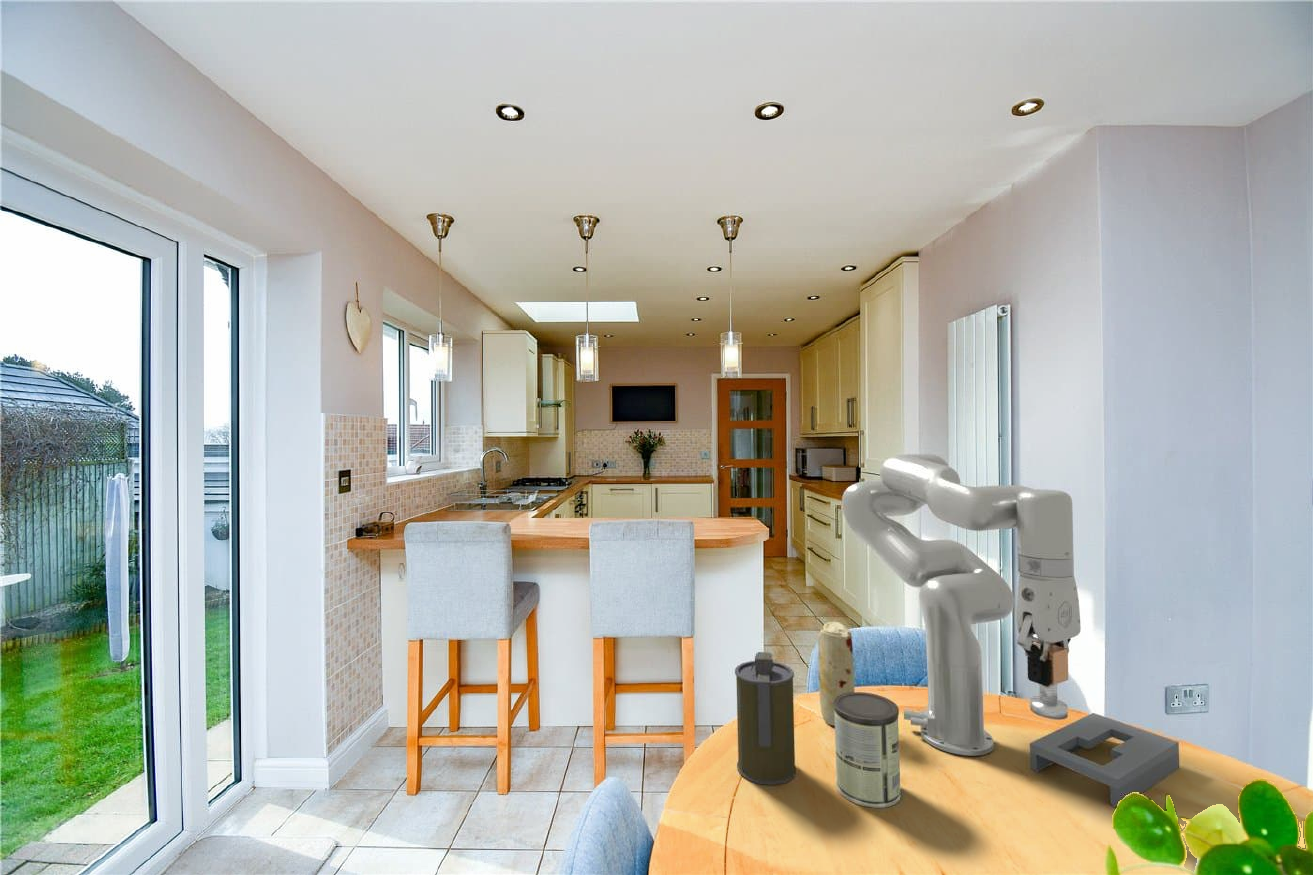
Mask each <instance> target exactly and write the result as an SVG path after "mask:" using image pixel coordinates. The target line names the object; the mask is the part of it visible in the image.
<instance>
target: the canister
mask: <svg viewBox="0 0 1313 875" xmlns="http://www.w3.org/2000/svg"><path fill="white" fill-rule="evenodd" d="M734 674H735V676H736V677H735V678H736V708H737V709H736V715H737V716H736V718H737V752H738V753H737V755H738V756H737V757H738V761H737V762H736V768H737V771H738V773H739V774H740V775H741V776H742V777H743V778H745V779H746V780H748V781H750V782H753V783H756V784H759V785H766V786H781V785H782V784H786V783H789V782H790V781H791V780H793V779H794V778H795V776H796V774H797V766H796V758H795V757H796V754H795V752H796V749H795V748H796V747H795V716H794V714H795V712H794V711H795V710H794V708H795V707H794V677H795V672H794V670H793V669H792V668H791V667H790V666H788V665H786V664H784V663H780V662H777V661H774V659H773V654H771V652H766V651H765V652H764V651H762V652H761V651H758V652H756V653H755V655H754V660H749V661H746V662H742V663H740V664H739V665H737V666H736V668H734Z"/></svg>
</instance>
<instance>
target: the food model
mask: <svg viewBox="0 0 1313 875" xmlns="http://www.w3.org/2000/svg"><path fill="white" fill-rule="evenodd" d="M817 637H818V638H817V646H818V650H817V653H818V658H817V659H818V660H817V661H818V684H819V685H818V687H819V688H818V689H819V702H820V712H821V716H822V719H823V720H824V722H825V723H826V724H828V725H829V726H833V727H835V715H834V705H833V701H834V699H835V698H836V697H837V696H839V695H841V694H845V693H851V692H855V668H854V667H855V666H854V652H853V651H854V650H853V638H852V632H851V631H850V629H849V628H848V627H847V626H846V625H844V624H842V623H841V622H838V621H829V622H826V623H824V624H823V628H822V629H820V631H819V633H818V636H817Z"/></svg>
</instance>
